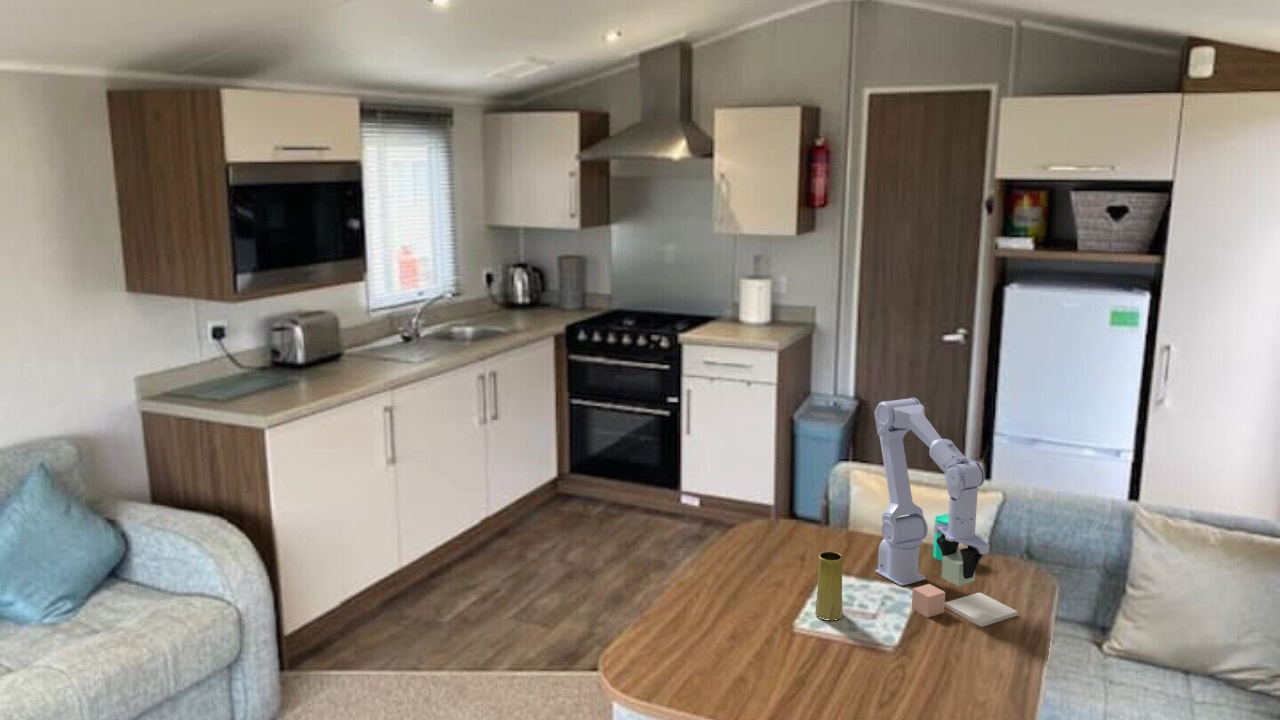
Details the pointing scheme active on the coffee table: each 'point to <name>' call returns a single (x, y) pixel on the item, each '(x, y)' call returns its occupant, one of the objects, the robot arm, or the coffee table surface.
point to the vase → (829, 586)
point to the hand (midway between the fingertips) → (959, 572)
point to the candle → (939, 535)
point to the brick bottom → (954, 569)
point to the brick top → (928, 600)
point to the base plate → (980, 609)
